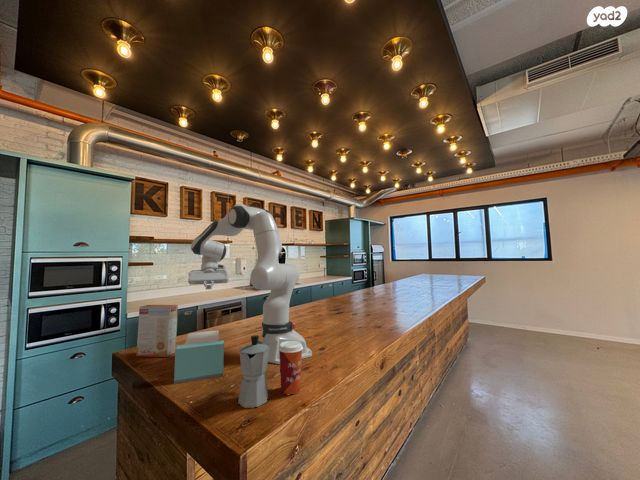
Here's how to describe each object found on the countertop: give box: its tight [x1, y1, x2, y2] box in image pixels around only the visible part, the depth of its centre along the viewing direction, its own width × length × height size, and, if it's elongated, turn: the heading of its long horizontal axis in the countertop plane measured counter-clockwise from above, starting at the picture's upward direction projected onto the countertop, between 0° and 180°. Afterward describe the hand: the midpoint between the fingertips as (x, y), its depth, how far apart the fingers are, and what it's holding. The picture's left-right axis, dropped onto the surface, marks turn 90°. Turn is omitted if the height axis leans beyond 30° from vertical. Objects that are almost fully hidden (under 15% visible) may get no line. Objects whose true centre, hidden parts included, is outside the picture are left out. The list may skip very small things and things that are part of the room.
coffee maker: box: [237, 334, 270, 409], centre depth 73 cm, size 15×9×18 cm, turn 5°
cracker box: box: [135, 304, 179, 358], centre depth 108 cm, size 14×6×21 cm, turn 84°
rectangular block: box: [173, 339, 225, 385], centre depth 103 cm, size 15×39×11 cm, turn 23°
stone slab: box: [183, 330, 220, 345], centre depth 100 cm, size 12×22×4 cm, turn 23°
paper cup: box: [278, 341, 303, 395], centre depth 78 cm, size 8×8×14 cm
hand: (208, 288), depth 132 cm, fingers closed
